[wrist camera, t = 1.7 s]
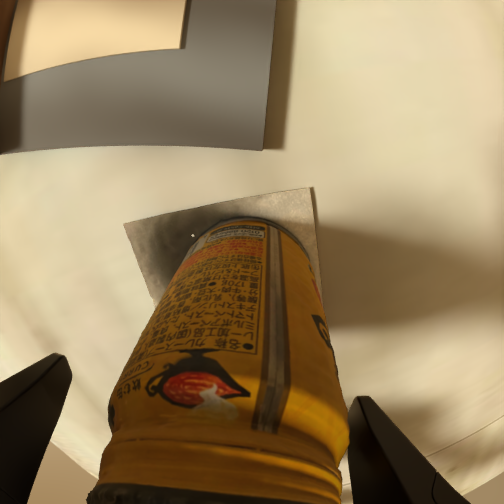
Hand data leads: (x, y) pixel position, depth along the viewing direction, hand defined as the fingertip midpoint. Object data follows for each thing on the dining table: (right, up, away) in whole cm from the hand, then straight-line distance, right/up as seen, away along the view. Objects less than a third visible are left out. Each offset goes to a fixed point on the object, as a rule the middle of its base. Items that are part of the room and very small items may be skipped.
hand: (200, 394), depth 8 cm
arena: (-5, +15, +1) cm, 16 cm away
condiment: (0, +3, +7) cm, 7 cm away
